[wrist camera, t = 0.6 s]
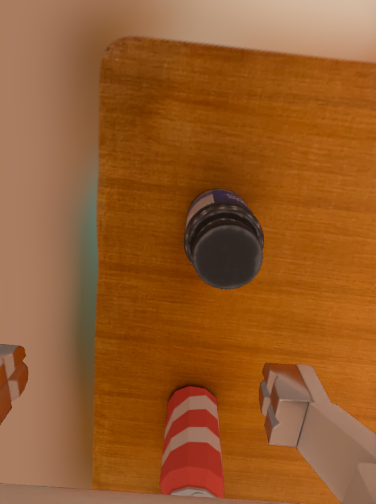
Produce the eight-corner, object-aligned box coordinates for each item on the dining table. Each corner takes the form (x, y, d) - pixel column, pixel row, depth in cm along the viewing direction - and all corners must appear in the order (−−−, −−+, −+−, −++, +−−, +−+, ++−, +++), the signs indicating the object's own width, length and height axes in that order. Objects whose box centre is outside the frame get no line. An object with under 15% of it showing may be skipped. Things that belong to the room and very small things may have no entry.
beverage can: (226, 393, 38) (238, 498, 27) (201, 425, 40) (204, 535, 29) (183, 374, 37) (178, 476, 26) (161, 408, 40) (147, 516, 28)
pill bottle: (260, 219, 30) (293, 261, 20) (214, 257, 32) (224, 315, 22) (219, 173, 29) (233, 193, 18) (173, 216, 30) (162, 256, 20)
